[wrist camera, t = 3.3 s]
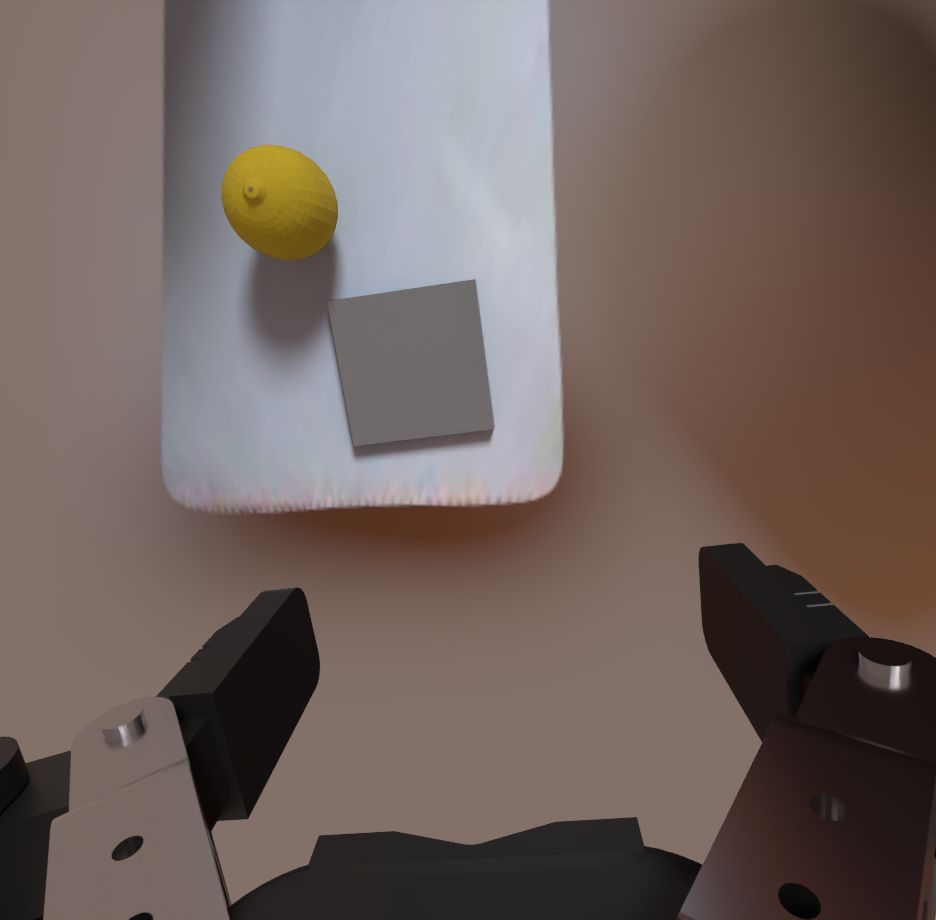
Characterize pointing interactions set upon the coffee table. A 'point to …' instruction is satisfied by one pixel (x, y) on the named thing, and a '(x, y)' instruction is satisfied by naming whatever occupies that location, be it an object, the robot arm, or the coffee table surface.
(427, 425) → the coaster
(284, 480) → the coffee table surface
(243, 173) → the lemon
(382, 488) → the coffee table surface
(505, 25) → the coffee table surface
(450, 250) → the coffee table surface
